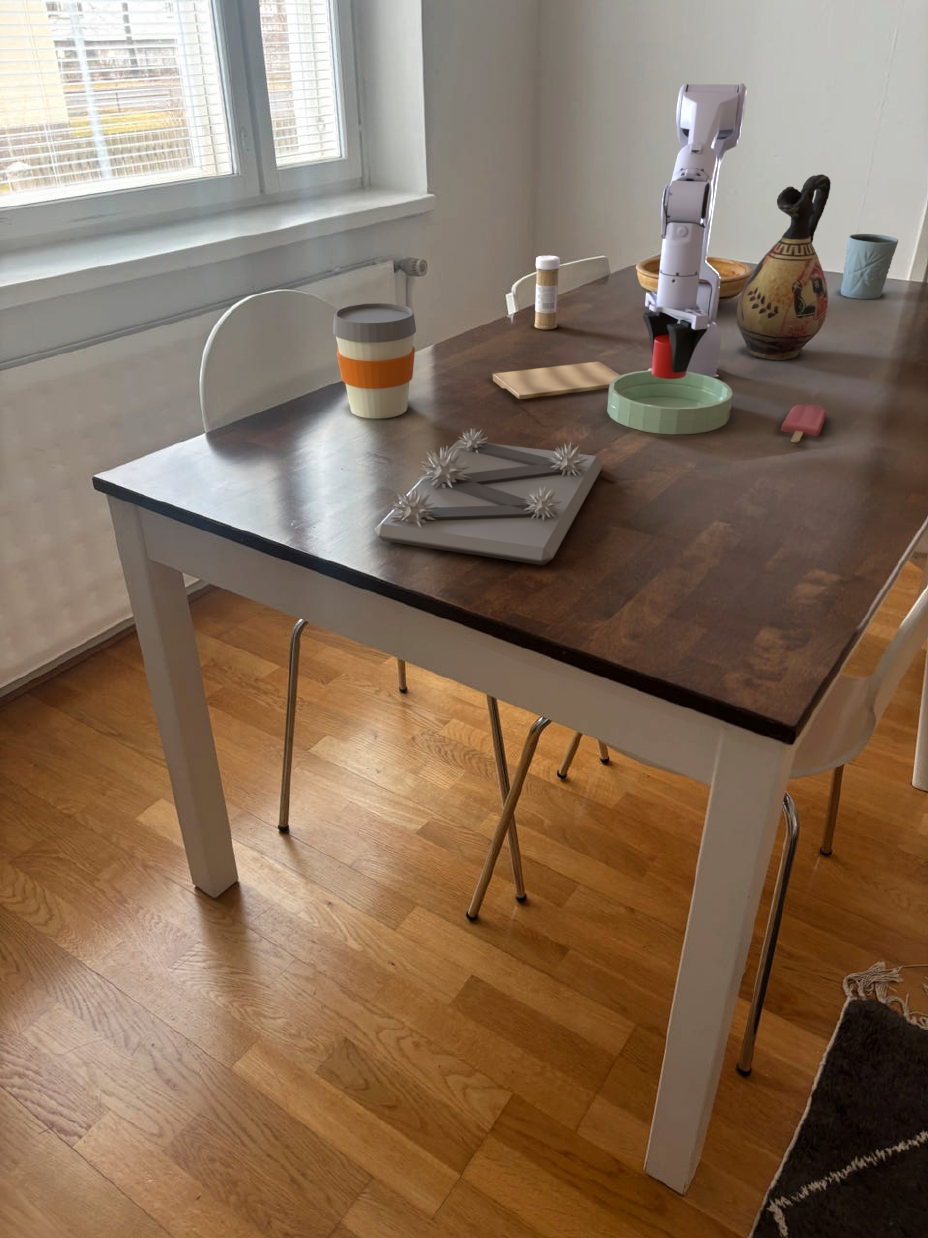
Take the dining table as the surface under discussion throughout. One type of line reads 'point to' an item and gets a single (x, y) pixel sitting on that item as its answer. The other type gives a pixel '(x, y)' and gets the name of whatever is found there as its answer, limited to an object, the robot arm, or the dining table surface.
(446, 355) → the dining table surface
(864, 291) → the blue embossed cup
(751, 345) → the ceramic jug
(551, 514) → the decorative plate
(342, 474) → the dining table surface
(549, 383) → the cutting board
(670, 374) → the pepper
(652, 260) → the ceramic bowl
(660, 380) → the bowl
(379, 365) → the reusable coffee cup
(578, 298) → the dining table surface
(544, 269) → the sprinkles bottle
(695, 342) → the robot arm
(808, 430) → the popsicle
